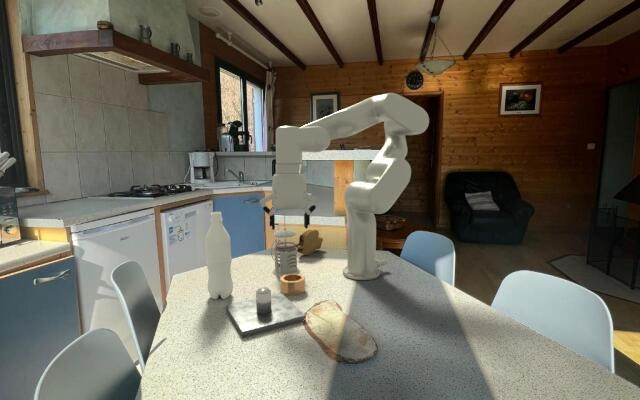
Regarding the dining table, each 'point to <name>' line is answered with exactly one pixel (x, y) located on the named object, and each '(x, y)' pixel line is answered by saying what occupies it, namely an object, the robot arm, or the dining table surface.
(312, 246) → the wooden carving
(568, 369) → the dining table surface
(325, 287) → the dining table surface
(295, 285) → the copper ring
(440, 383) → the dining table surface
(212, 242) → the water bottle
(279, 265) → the french press
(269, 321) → the block
